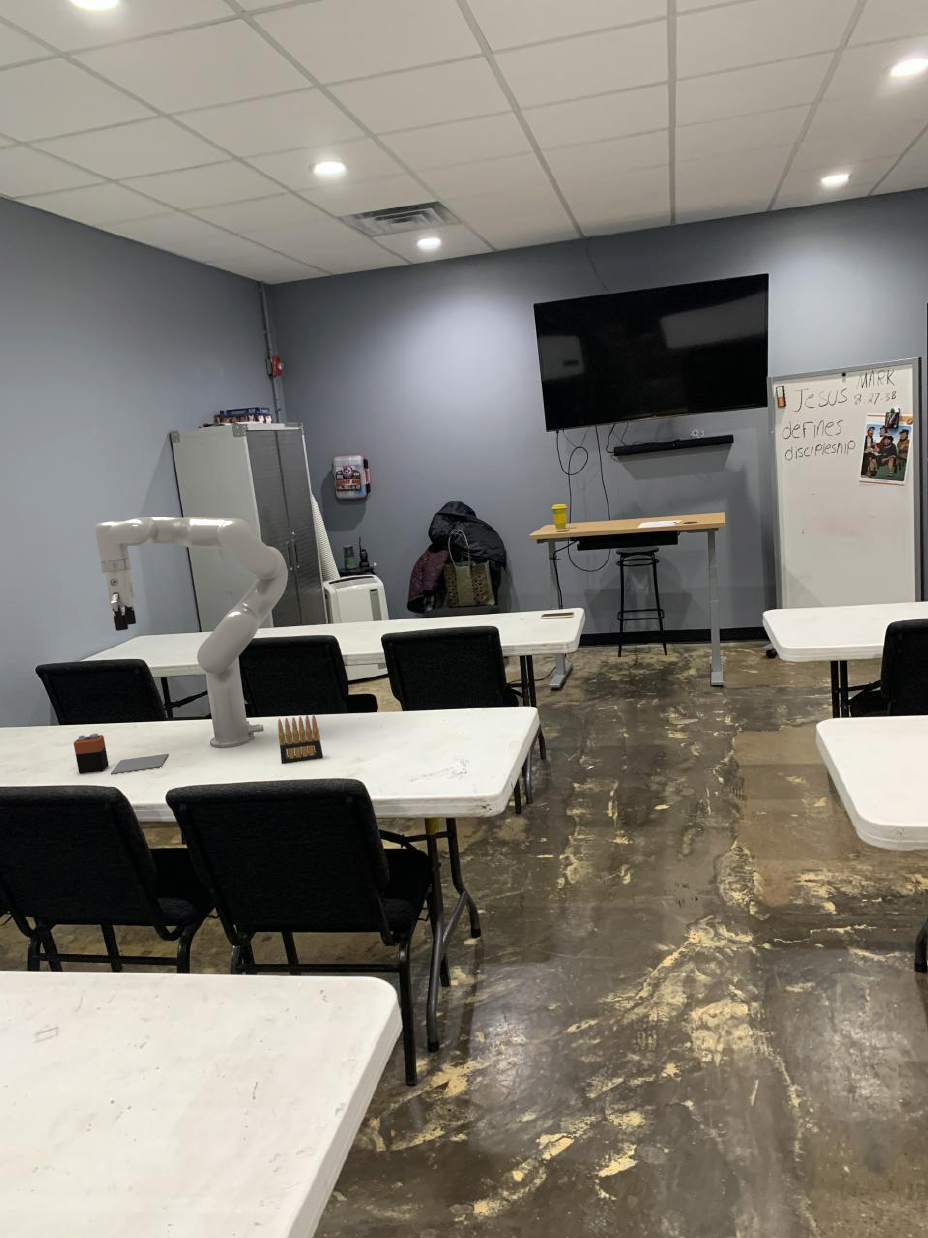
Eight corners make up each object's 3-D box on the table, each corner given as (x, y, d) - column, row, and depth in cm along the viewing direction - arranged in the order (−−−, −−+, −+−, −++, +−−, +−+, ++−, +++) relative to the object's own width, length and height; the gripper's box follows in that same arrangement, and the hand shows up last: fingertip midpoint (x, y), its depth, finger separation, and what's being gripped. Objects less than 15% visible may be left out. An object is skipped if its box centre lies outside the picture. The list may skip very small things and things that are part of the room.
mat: (168, 755, 243) (168, 753, 243) (161, 767, 232) (160, 766, 232) (120, 761, 241) (120, 760, 241) (111, 774, 230) (110, 773, 230)
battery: (104, 771, 234) (97, 736, 232) (78, 774, 234) (72, 739, 232) (109, 766, 238) (103, 731, 236) (84, 769, 238) (78, 734, 236)
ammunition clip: (322, 756, 228) (317, 712, 226) (322, 758, 226) (316, 714, 224) (282, 762, 227) (275, 718, 225) (281, 764, 225) (275, 720, 223)
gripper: (122, 567, 230) (133, 630, 233) (137, 561, 247) (146, 620, 250) (93, 571, 229) (104, 634, 232) (110, 564, 246) (120, 623, 249)
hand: (126, 627), depth 241 cm, fingers open, 9 cm apart
